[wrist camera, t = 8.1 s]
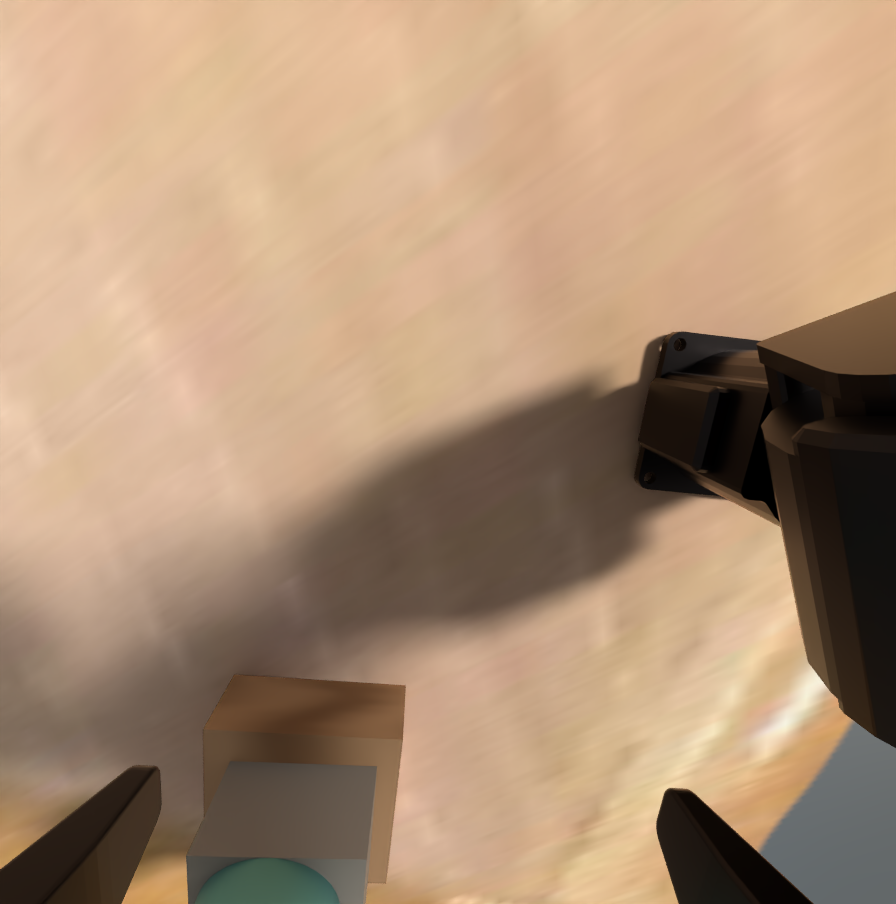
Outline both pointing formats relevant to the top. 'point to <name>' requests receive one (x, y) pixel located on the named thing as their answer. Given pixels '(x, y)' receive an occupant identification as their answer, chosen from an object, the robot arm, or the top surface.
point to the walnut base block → (312, 737)
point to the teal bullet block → (267, 884)
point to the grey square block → (290, 823)
